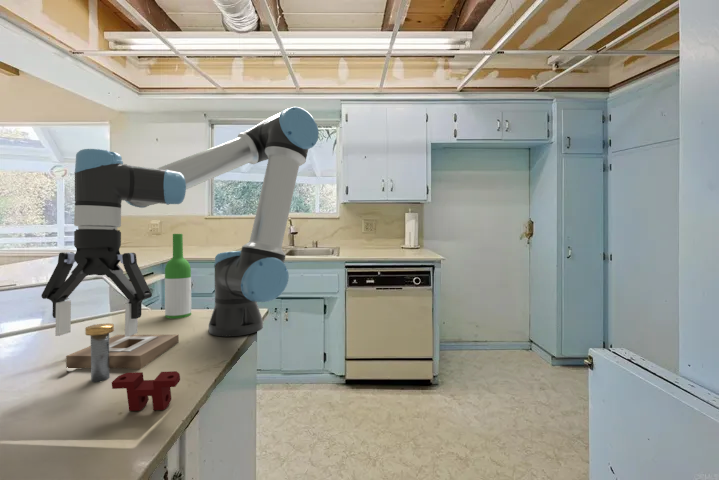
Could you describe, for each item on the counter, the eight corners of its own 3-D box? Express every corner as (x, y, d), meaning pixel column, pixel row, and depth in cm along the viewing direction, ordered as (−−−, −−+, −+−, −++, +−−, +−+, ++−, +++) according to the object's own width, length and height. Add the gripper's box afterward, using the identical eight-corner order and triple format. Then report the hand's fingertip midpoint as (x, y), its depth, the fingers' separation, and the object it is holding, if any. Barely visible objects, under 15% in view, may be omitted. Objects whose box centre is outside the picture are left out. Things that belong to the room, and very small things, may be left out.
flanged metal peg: (119, 376, 73) (119, 323, 73) (103, 386, 68) (103, 329, 68) (97, 377, 73) (96, 323, 73) (80, 386, 68) (79, 329, 68)
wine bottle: (175, 327, 111) (175, 233, 111) (159, 325, 114) (158, 233, 114) (196, 322, 118) (195, 233, 118) (180, 320, 121) (180, 233, 121)
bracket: (121, 372, 60) (181, 371, 61) (125, 402, 61) (184, 400, 62) (111, 382, 57) (174, 380, 58) (115, 413, 58) (177, 411, 59)
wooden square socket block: (178, 347, 91) (178, 333, 91) (140, 371, 75) (140, 354, 75) (117, 348, 91) (117, 333, 91) (66, 372, 75) (66, 355, 75)
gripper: (170, 229, 74) (169, 330, 74) (52, 228, 74) (51, 328, 74) (149, 228, 66) (148, 340, 66) (17, 227, 66) (16, 339, 66)
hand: (97, 334), depth 70 cm, fingers open, 13 cm apart
